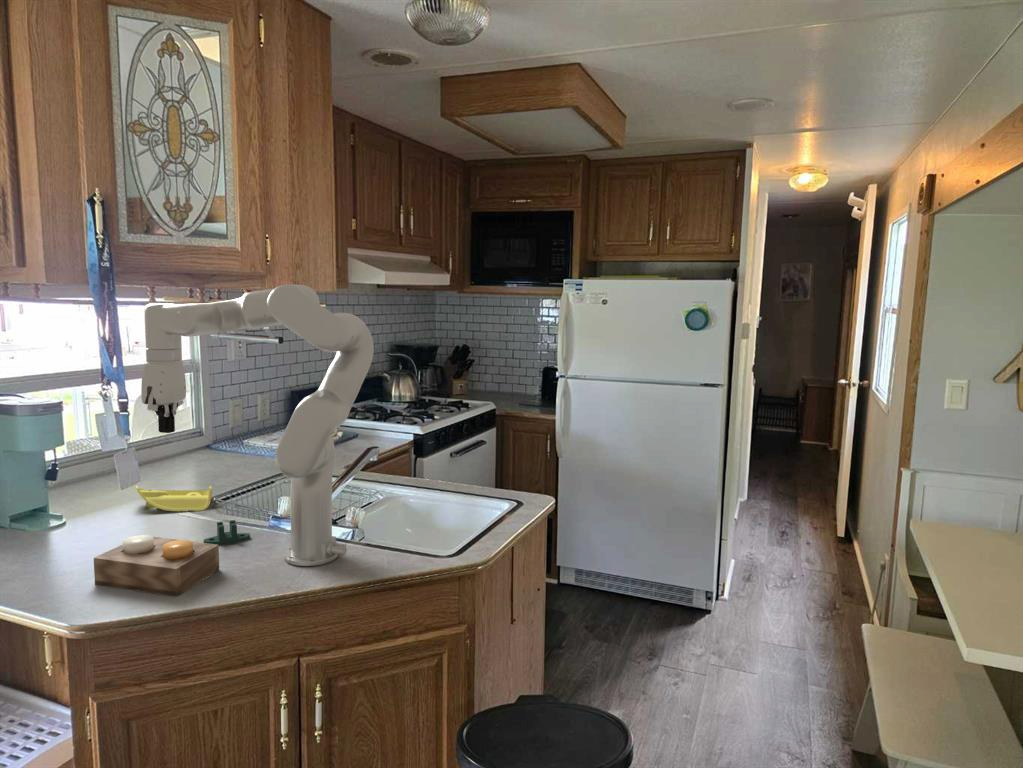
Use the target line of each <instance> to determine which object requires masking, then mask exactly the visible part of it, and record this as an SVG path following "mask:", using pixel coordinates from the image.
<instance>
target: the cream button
mask: <svg viewBox="0 0 1023 768" xmlns="http://www.w3.org/2000/svg"><path fill="white" fill-rule="evenodd" d="M153 537H154V536H152V535H148V534H142V535H141V534H140V535H133V536H129V537H127V538H125V539H123V540H122V545H123V552H124V553H127V554H141V553H143V552H147V551H149V550H151V549H153V548H154V539H153Z"/></svg>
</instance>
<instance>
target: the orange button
mask: <svg viewBox="0 0 1023 768" xmlns="http://www.w3.org/2000/svg"><path fill="white" fill-rule="evenodd" d="M193 542H194V541H192V540H189V539H176V541H171V542H168V543H166V544H164V545H163V546H162V551H163V557H164V558H166V559H182V558H184V557H187V556H190V555H191V554H193Z"/></svg>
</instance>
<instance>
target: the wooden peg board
mask: <svg viewBox="0 0 1023 768" xmlns="http://www.w3.org/2000/svg"><path fill="white" fill-rule="evenodd" d="M152 537H153V539H154V548H153V549H151V550H149V551H147V552H143V553H141V554H127V553H124V552H123V544H121V545H118V546H116V547H114V548H112V549H110V550H108V551H106V552H104V553H103V552H102V553H101V554H99V555H97V556H95V557H93V570H94V571H93V573H94V574H93V575H94V576H93V577H94V585H95V586H102V587H108V588H115V589H124V590H131V591H136V592H144V593H151V594H157V595H165V596H171V597H178V596H180V595H181V594H183V593H185V592H186V591H188V590H190V589H191V588H193V587H194V586H196V585H198V584H199V583H200V581H201V582H202V581H204V580H205V579H207V578H208V576H209V577H210V576H211V574H212V575H213V574H215V573H217V572H218V571H219V570H220V552H219V551H220V548H219V546H220V545H217V544H209V543H204V542H200V541H192V542H193V554H191V555H190V556H187V557H184V558H182V559H166V558H164V557H163V551H162V546H163V545H164V544H166V543H168V542H171V541H176V540H177V539H176V538H168V537H167V538H166V537H160V536H158V537H157V536H152ZM216 571H217V572H216ZM206 577H207V578H206ZM203 579H204V580H203ZM198 582H199V583H198ZM197 583H198V584H197ZM195 584H196V585H195ZM192 586H193V587H192ZM189 588H190V589H189Z"/></svg>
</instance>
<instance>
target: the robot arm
mask: <svg viewBox="0 0 1023 768" xmlns="http://www.w3.org/2000/svg"><path fill="white" fill-rule="evenodd" d="M278 326H284V327H285V328H286V329H288V330H290V331H291V332H292V333H294V334H296V336H298V337H300V338H301V339H302V340H304V341H305V342H307V343H308V344H310V345H312V347H315V348H316V349H318V350H320V351H322V352H325V353H336V354H335V356H334V358H333V360H332V361H331V363H330V365H329V367H328V368H327V371H326V373H325V375H324V378H323V380H322V381H321V382H320V385H319V387H318V389H316V391H315V392H312V393H311V394H309V395H307V396H305V397H304V398H303V399H302V400H301V401H300V402H299V403H298V404H297V406H296V407H295V409H294V411H293V412H292V414H291V417H290V420H289V421H288V423H287V425H286V426H285V427H286V428H285V430H284V431H283V434H282V436H281V438H280V440H279V443H278V445H277V447H276V450H275V451H276V452H275V464H276V466H277V468H278V470H279V471H280V473H281V474H283V475H285V476H286V477H288V478H290V547H289V548H288V549H286V550H285V552H284V554H283V556H284V557H283V559H284V561H285V562H287V563H288V564H290V565H293V566H298V567H311V566H312V567H313V566H319V565H325V564H328V563H329V562H332V561H334V560H336V558H338V556H346V555H347V554H346V553H347V544H346V543H338V542H337V537H336V536H334V535H333V470H334V461H335V454H336V452H335V450H336V449H335V442H334V440H333V437H332V436H331V435H332V434H333V432H334V430H337V429H338V428H339V427H341V426H342V425H343V424H344V423H345V421H346V420H347V419H348V416H349V415H350V411H351V410H352V408H353V405H354V403H355V401H356V399H357V397H358V394H359V392H360V390H361V389H362V385H363V383H364V381H365V378H366V376H367V374H368V372H369V370H370V367H371V364H372V361H373V357H374V346H375V345H374V339H373V336H372V333H371V331H370V329H369V327H368V326H367V324H366V323H365V322H364V321H363V320H362V319H361V318H360V317H358V316H356V315H355V314H353V313H348V312H336V313H333V312H331V311H330V310H328V309H327V308H325V307H324V306H322V305H321V304H320V297H319V296H318V294H317V292H316V291H315V290H314V289H313V288H311V287H310V286H307V285H304V284H292V283H291V284H282V285H278V286H276V287H275V288H269V289H264V290H256V291H250V292H245V293H244V294H243V295H242V296H241V297H239V298H238V297H237V298H234V299H229V300H222V301H215V302H208V303H200V302H199V303H184V304H182V303H181V304H175V303H166V302H165V303H162V302H161V303H160V302H158V303H157V302H156V303H155V302H154V303H148V304H146V305H145V307H144V330H145V332H144V335H145V359H146V362H144V364H143V368H142V373H141V386H140V387H141V390H140V391H141V393H140V395H141V403H142V404H143V405H147V411H149V412H150V411H151V412H154V413H155V416H156V417H157V418H158V420H157V421H158V422H157V423H158V432H159V433H160V434H161V433H163V434H171V433H174V432H176V425H175V423H176V421H175V420H176V419H175V416H176V415H177V410H178V408H179V407H181V406H182V405H183V404H184V400H185V399H186V397H187V383H186V372H185V367H184V362H183V353H182V352H183V351H182V350H183V349H182V348H183V347H182V345H183V344H182V337H198V336H205V335H206V336H207V335H215V334H220V333H221V334H222V333H228V332H232V331H240V330H246V329H248V330H257V329H258V330H259V329H262V328H263V329H264V328H271V327H278Z"/></svg>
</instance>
